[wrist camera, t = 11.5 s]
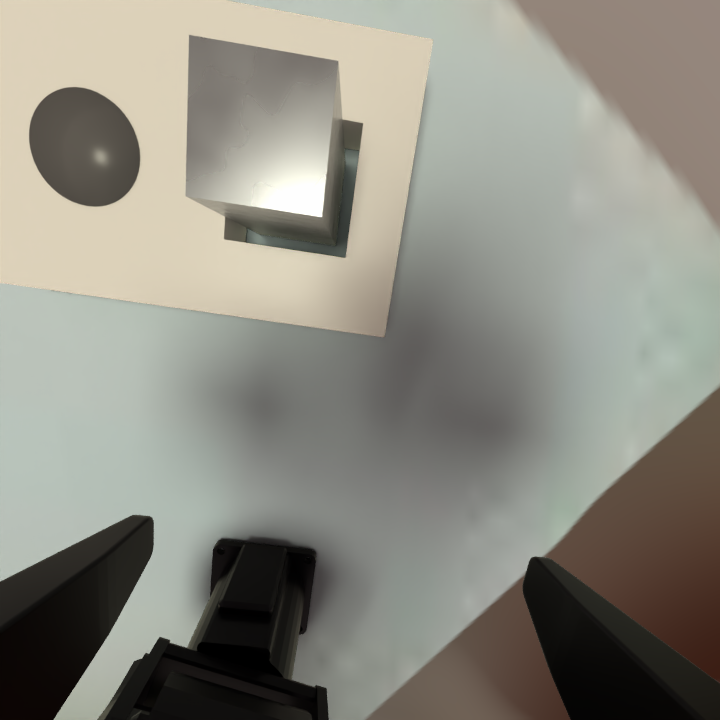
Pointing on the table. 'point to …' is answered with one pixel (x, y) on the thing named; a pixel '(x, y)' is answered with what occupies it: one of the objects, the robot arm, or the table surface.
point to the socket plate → (168, 160)
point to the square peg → (265, 138)
